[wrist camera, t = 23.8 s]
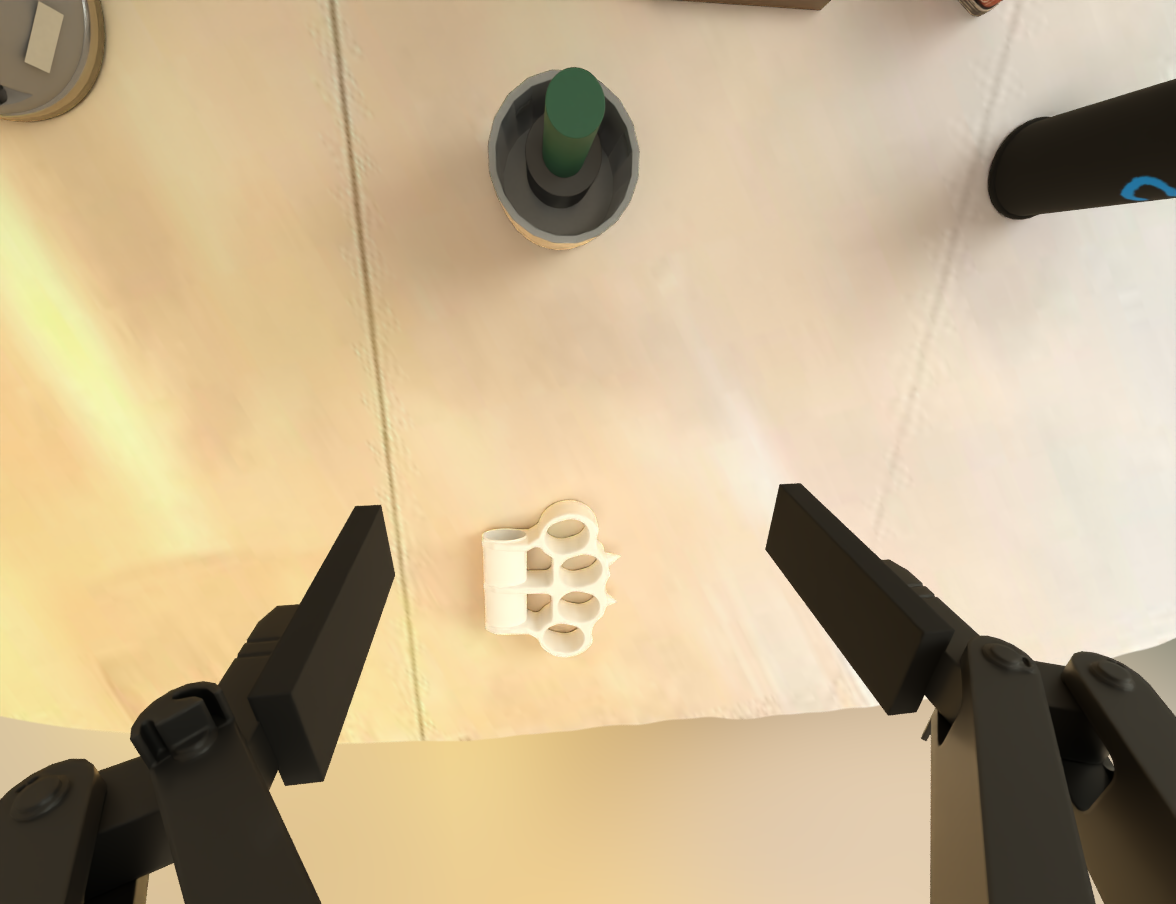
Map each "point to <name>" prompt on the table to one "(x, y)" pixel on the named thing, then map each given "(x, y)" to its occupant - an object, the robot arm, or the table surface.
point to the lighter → (979, 6)
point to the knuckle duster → (546, 580)
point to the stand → (776, 3)
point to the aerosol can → (1090, 156)
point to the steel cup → (603, 195)
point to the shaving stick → (566, 139)
